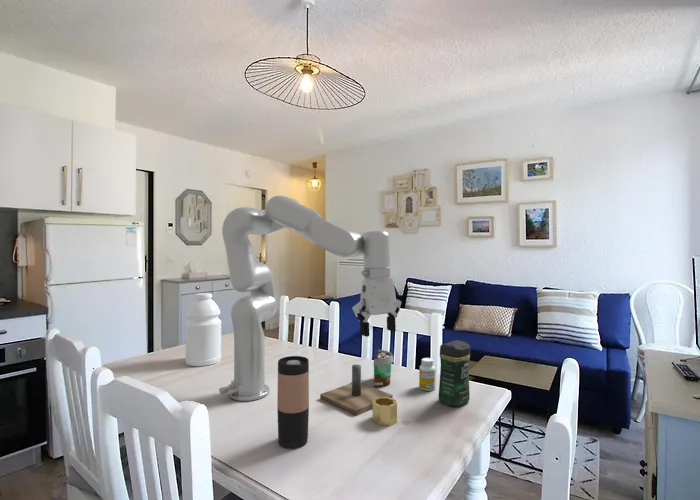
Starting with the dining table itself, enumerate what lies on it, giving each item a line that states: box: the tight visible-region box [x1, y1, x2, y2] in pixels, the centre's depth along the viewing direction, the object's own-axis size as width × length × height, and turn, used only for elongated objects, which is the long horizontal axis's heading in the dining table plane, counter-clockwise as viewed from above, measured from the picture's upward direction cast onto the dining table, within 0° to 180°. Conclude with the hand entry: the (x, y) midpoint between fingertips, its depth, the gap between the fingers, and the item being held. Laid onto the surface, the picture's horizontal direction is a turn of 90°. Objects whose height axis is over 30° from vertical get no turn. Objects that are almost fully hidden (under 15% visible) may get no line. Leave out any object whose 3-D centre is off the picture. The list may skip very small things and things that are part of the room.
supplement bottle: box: [418, 357, 437, 392], centre depth 127 cm, size 5×5×10 cm
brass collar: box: [371, 397, 398, 426], centre depth 104 cm, size 7×7×5 cm
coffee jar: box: [438, 339, 471, 407], centre depth 116 cm, size 10×8×19 cm
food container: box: [373, 349, 394, 388], centre depth 131 cm, size 12×6×10 cm, turn 168°
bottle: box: [184, 292, 223, 367], centre depth 154 cm, size 14×14×28 cm
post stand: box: [319, 364, 394, 417], centre depth 117 cm, size 16×16×10 cm
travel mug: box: [276, 355, 310, 450], centre depth 92 cm, size 8×8×20 cm
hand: (378, 333), depth 108 cm, fingers open, 9 cm apart
